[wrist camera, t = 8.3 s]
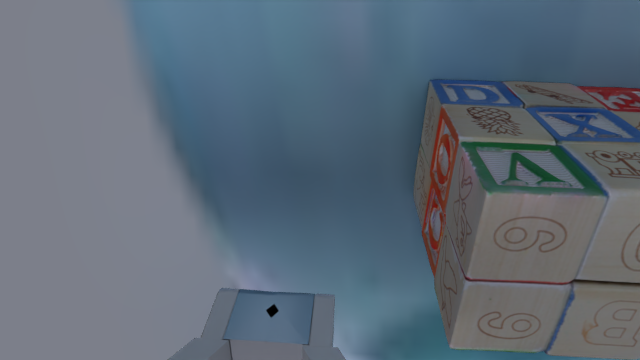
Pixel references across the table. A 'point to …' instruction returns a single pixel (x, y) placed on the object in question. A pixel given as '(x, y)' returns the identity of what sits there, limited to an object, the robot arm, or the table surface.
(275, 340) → the robot arm
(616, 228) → the stack of blocks
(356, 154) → the table surface
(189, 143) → the table surface
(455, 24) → the table surface
